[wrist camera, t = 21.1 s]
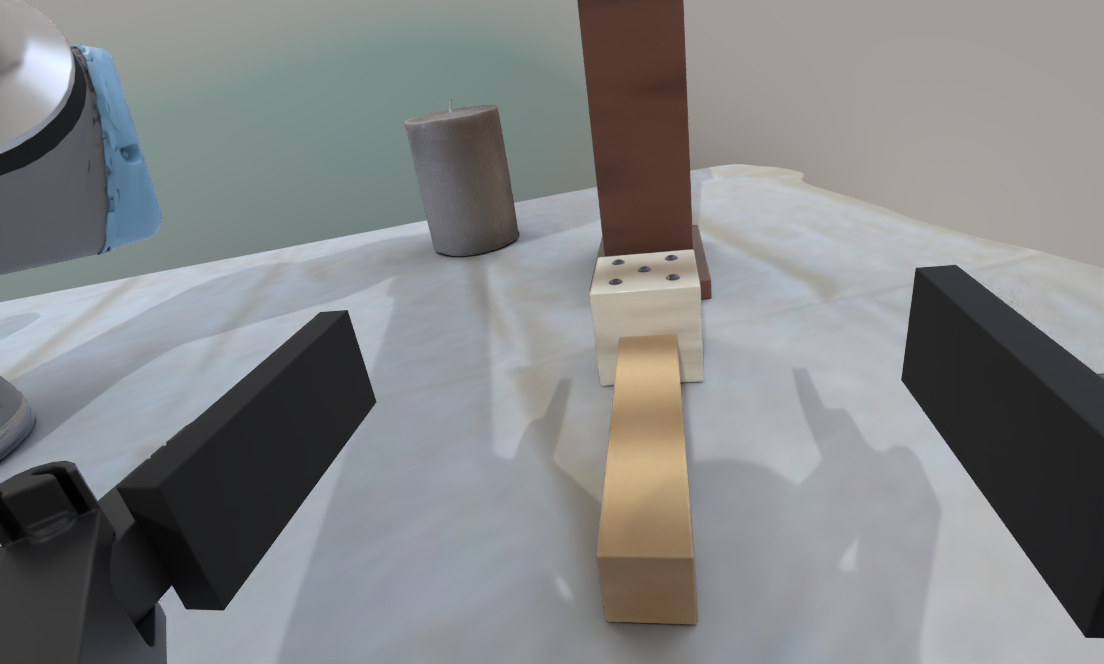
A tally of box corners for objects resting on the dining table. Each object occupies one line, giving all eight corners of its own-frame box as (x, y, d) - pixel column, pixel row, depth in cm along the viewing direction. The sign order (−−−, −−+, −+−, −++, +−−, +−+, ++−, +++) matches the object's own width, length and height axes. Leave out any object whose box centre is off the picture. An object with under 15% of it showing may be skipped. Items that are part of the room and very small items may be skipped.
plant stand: (604, 248, 59) (566, -103, 46) (698, 239, 57) (685, -127, 45) (591, 306, 46) (536, -150, 34) (711, 298, 45) (698, -185, 32)
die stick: (606, 340, 41) (597, 254, 38) (697, 334, 40) (693, 245, 37) (566, 621, 22) (541, 486, 19) (740, 627, 20) (739, 484, 18)
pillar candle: (523, 224, 71) (501, 88, 64) (515, 251, 62) (488, 96, 55) (443, 234, 72) (413, 101, 65) (423, 262, 63) (387, 111, 56)
